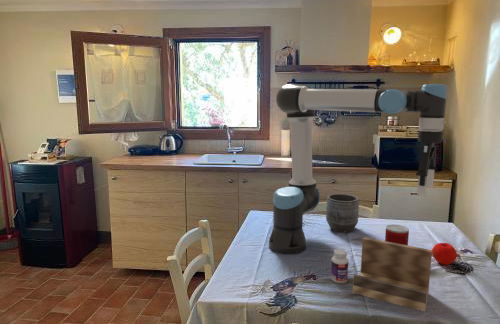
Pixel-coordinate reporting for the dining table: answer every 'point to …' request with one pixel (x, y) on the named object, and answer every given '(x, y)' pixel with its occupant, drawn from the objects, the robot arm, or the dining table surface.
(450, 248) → the apple
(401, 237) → the canned food
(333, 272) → the pill bottle
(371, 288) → the cleat board
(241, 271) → the dining table surface
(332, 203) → the planter
